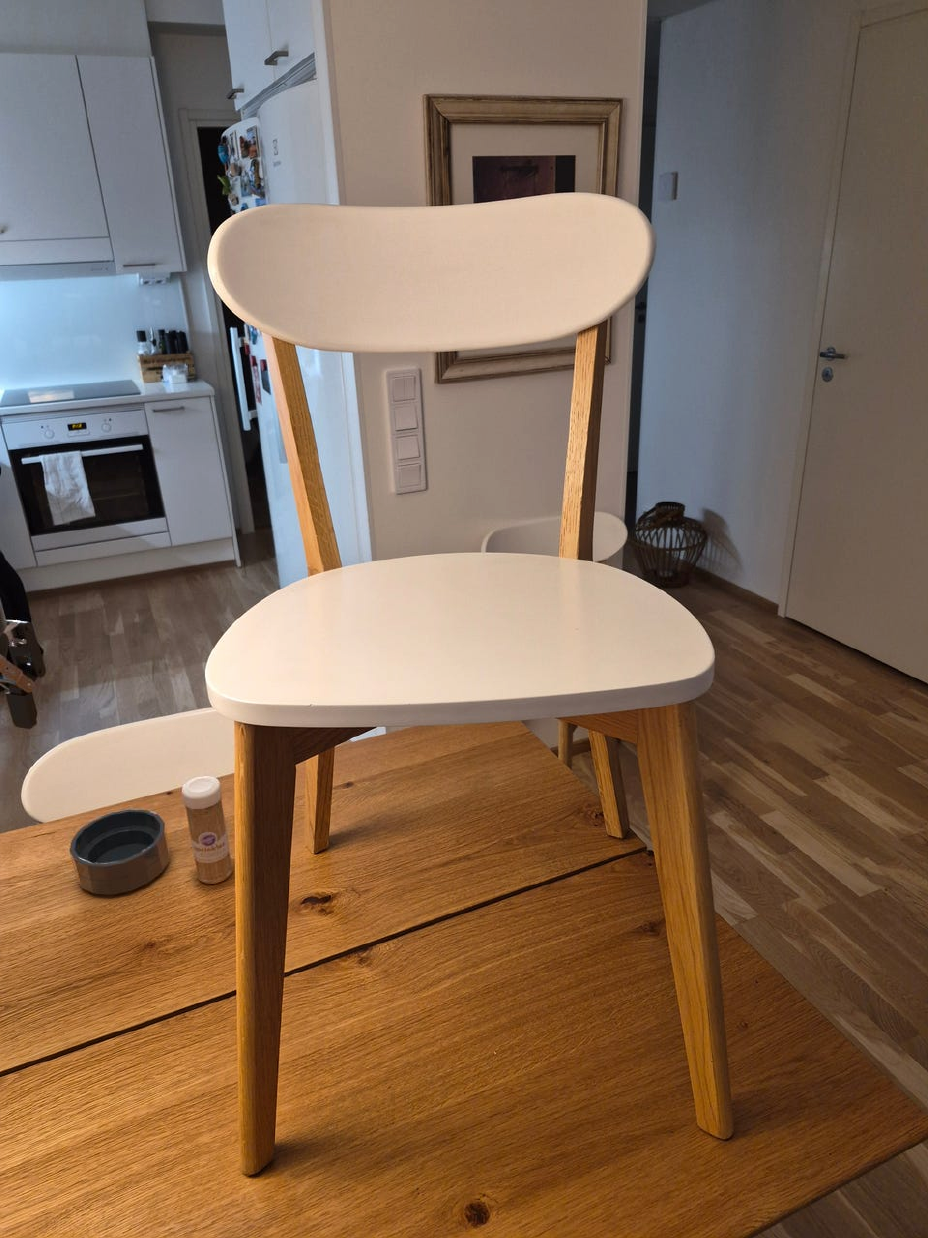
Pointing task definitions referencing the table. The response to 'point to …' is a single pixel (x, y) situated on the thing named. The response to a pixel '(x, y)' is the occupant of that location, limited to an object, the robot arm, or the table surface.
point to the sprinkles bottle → (207, 829)
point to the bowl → (120, 851)
